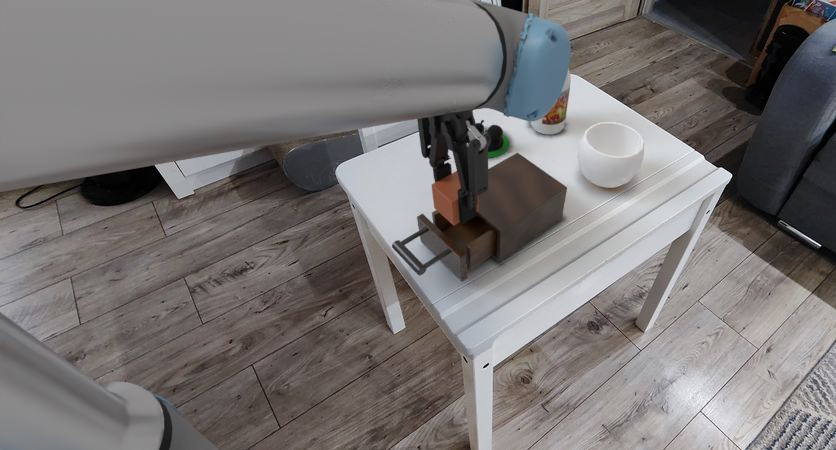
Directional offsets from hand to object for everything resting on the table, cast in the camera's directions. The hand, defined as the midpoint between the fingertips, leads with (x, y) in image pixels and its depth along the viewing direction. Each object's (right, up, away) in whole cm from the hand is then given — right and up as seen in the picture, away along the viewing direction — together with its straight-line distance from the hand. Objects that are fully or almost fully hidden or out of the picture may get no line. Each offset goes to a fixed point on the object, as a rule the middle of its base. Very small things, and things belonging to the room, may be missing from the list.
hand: (456, 208), depth 71 cm
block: (0, 0, 0) cm, 0 cm away
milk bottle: (+18, +20, +34) cm, 43 cm away
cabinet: (+8, -2, +13) cm, 16 cm away
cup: (+28, +7, +22) cm, 36 cm away
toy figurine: (+4, +15, +29) cm, 33 cm away
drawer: (0, -7, +7) cm, 10 cm away
